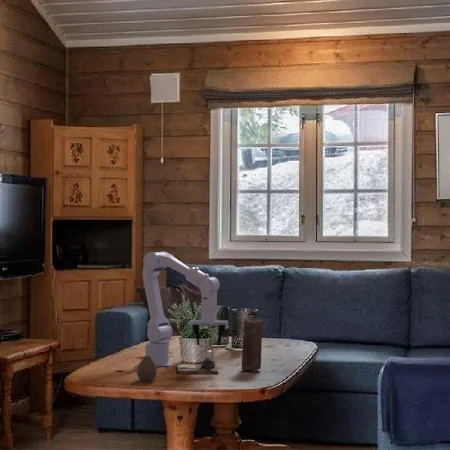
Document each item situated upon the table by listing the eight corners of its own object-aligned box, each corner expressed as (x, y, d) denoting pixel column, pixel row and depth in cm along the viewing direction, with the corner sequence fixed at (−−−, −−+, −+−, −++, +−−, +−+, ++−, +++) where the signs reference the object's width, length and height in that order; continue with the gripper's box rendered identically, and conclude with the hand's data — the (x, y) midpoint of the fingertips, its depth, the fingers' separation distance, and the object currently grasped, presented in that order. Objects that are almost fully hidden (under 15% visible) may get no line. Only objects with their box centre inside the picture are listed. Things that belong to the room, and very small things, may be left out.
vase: (137, 379, 323) (137, 354, 323) (156, 379, 324) (156, 354, 324) (136, 383, 316) (137, 358, 316) (156, 383, 317) (157, 358, 317)
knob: (202, 363, 340) (202, 350, 340) (201, 361, 345) (202, 348, 344) (214, 363, 340) (214, 350, 340) (213, 361, 345) (214, 348, 345)
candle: (263, 370, 346) (264, 317, 345) (258, 373, 339) (259, 320, 338) (244, 368, 348) (245, 316, 348) (238, 371, 341) (239, 318, 341)
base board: (177, 373, 335) (177, 365, 335) (177, 367, 349) (177, 358, 349) (218, 374, 336) (218, 365, 336) (216, 367, 350) (216, 359, 350)
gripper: (190, 310, 338) (189, 346, 338) (228, 310, 338) (228, 346, 339) (189, 308, 345) (189, 343, 345) (227, 308, 345) (227, 343, 346)
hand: (208, 345), depth 342 cm, fingers open, 7 cm apart
